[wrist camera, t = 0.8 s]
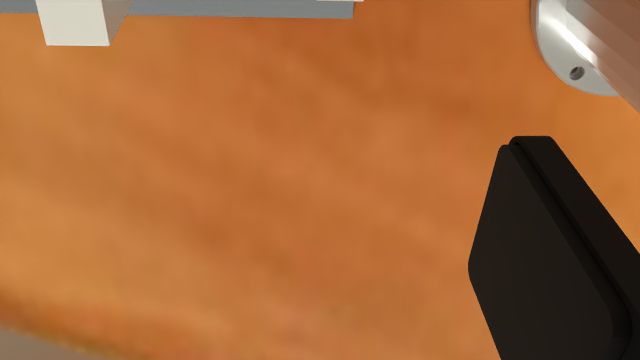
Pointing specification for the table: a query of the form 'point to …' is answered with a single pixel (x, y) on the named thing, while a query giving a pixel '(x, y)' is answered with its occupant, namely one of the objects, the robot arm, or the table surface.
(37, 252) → the table surface
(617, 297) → the robot arm
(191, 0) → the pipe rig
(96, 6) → the white block
